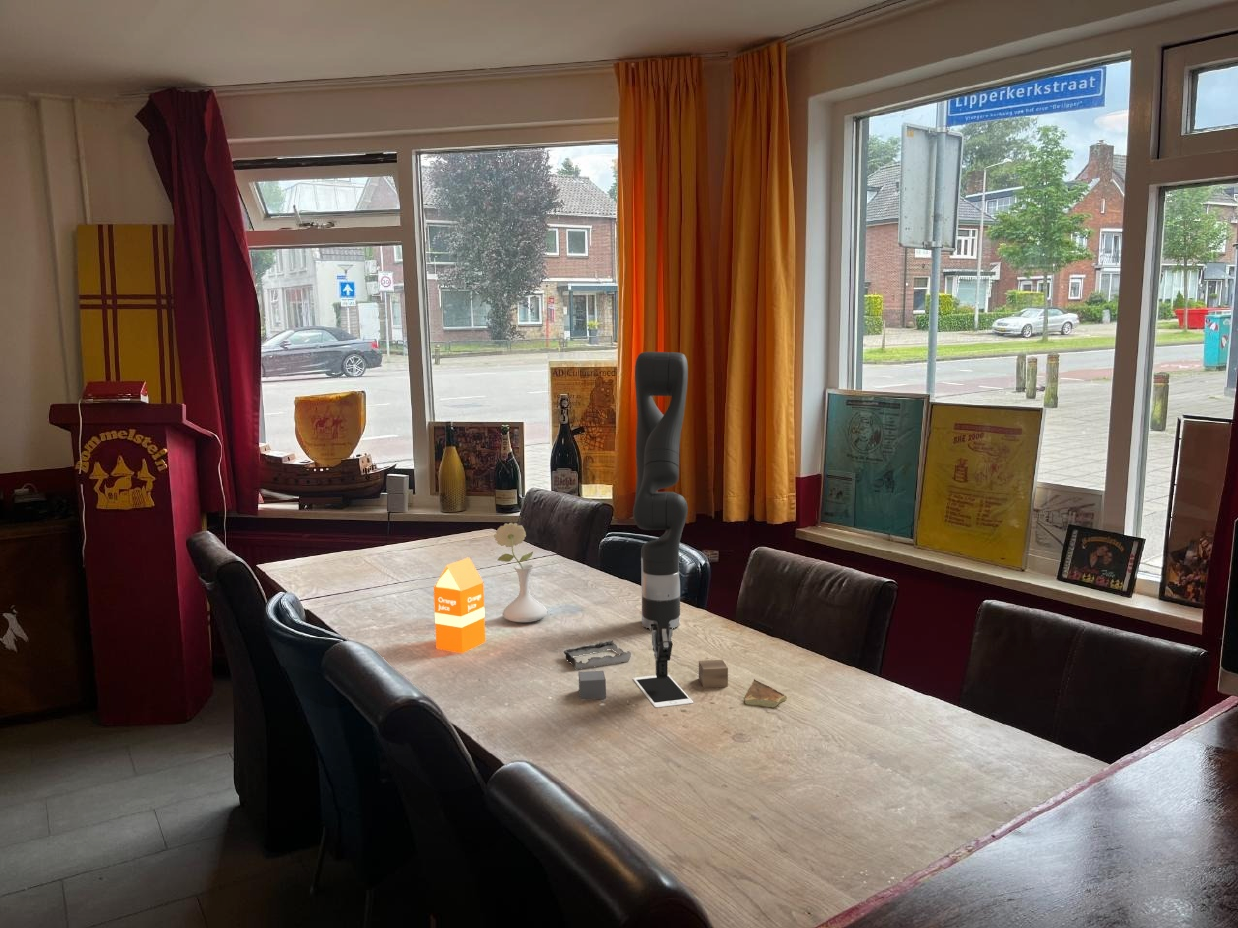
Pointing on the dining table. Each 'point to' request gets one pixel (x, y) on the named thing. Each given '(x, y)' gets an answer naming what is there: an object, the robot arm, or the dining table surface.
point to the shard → (763, 695)
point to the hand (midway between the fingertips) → (661, 677)
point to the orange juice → (459, 608)
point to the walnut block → (713, 673)
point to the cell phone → (662, 691)
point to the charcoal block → (592, 685)
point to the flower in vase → (524, 604)
